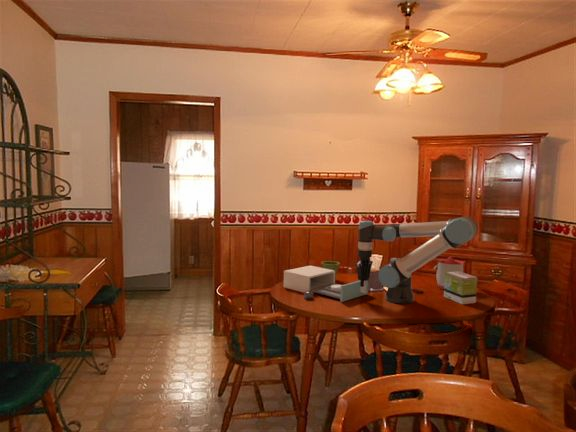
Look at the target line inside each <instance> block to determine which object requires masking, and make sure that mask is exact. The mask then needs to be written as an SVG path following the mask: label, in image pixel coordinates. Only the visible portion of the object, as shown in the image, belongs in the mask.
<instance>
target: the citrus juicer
mask: <svg viewBox="0 0 576 432" xmlns="http://www.w3.org/2000/svg"><path fill="white" fill-rule="evenodd" d="M464 264H465V262H464V261H463V260H457V259H454V258H453V257H452V256H448V258H439V259H438V260H437V264H436V265H434V267H433V269H434V270H435V269H436V281H437V286H438V288H439V289H441V290H442V291H444V284H445V272H456V271H459V272H462V273H464Z"/></svg>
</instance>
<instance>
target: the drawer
mask: <svg viewBox="0 0 576 432" xmlns="http://www.w3.org/2000/svg"><path fill="white" fill-rule="evenodd" d="M360 283H361V281H360V280H356V281H353V282H349V283H347V284H346V283H345V284H341V285H342V286H341V291H336V290H332V289H331V285H340V284H338V283H336V282H335V283H332V284H328V285H324V286H320V287H316V288H313V289H310V291H312V292H314V293H316V294H320V295H324V296H327V297H330V298H331V297H332V298H335V299H339V300H340V302H341V303H343V302H346V301H350V300H352V299H353V300H354V299H355V298H359V297H362V296H364V295H368V294H369V280H368V281H367V284H366V293H363V292H360V287H361V286H360V285H361V284H360Z"/></svg>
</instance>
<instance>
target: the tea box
mask: <svg viewBox="0 0 576 432" xmlns="http://www.w3.org/2000/svg"><path fill="white" fill-rule="evenodd" d="M477 289H478V276H474V275H471V274H468V273H465V272H463V273H462V272H459V271H456V272H445V284H444V290H443V297H444V298H445V299H449V300H452V301H453V302H456V303H458V304H460V305H469V304H475V303H476V302H477V292H478V291H477Z"/></svg>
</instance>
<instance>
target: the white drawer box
mask: <svg viewBox="0 0 576 432" xmlns="http://www.w3.org/2000/svg"><path fill="white" fill-rule="evenodd" d="M332 283H335V284H336V279H335V271H334V270H330V269H325V268H323V267H320V266H316V265H315V266H314V265H306V266H302V267H297V268H292V269H286V270H283V288H284V289H285V288H286V289H289V290H291V291H292V290H293V291H296V292H301V293H304V292H305V291H310V289H313V288H316V287H320V286H324V285H328V284H332ZM314 293H315V292H313V294H314Z"/></svg>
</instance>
